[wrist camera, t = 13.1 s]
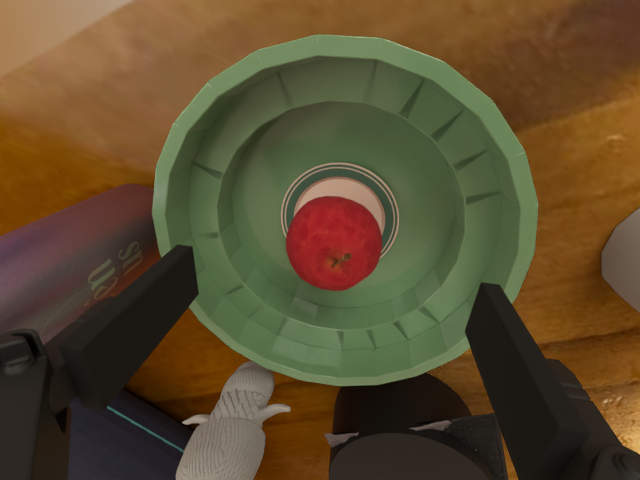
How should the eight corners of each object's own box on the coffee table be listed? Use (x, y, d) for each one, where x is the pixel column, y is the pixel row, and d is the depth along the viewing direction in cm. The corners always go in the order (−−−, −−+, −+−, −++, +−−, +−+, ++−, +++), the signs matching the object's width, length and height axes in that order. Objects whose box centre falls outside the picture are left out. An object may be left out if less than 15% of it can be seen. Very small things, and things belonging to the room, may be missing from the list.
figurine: (228, 377, 33) (131, 583, 19) (210, 348, 31) (90, 550, 18) (316, 363, 30) (273, 588, 17) (300, 330, 29) (240, 549, 15)
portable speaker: (28, 371, 37) (-80, 464, 28) (54, 322, 32) (-65, 413, 24) (214, 477, 41) (171, 587, 32) (257, 447, 37) (221, 562, 28)
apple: (417, 182, 21) (436, 221, 15) (374, 281, 24) (376, 344, 19) (297, 144, 21) (270, 170, 15) (272, 249, 24) (242, 302, 19)
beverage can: (107, 173, 24) (-209, 285, 11) (184, 191, 24) (-44, 327, 11) (115, 242, 27) (-132, 398, 14) (183, 258, 27) (1, 434, 14)
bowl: (543, 58, 18) (617, 50, 12) (452, 342, 27) (473, 407, 22) (184, 38, 20) (116, 23, 14) (214, 309, 29) (179, 361, 24)
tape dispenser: (362, 475, 38) (365, 559, 32) (309, 375, 31) (298, 460, 24) (493, 463, 35) (526, 554, 29) (471, 347, 27) (509, 437, 21)
